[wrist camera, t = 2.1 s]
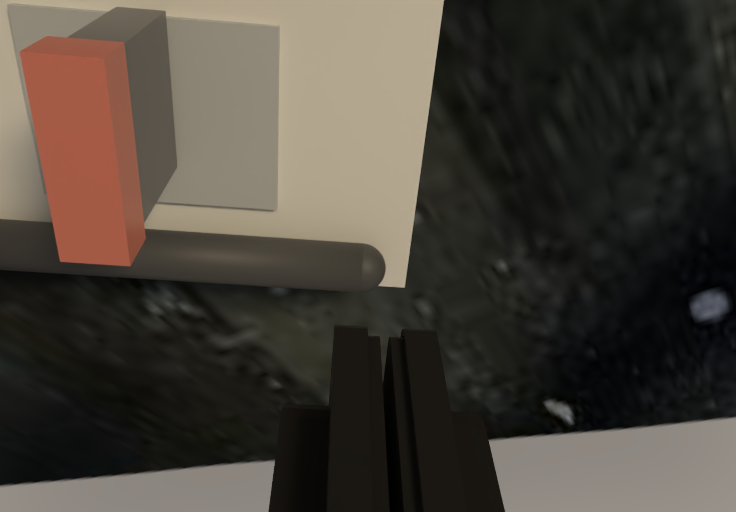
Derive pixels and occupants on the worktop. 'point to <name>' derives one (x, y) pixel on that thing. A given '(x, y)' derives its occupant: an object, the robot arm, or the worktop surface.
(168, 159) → the breaker handle
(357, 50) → the breaker box
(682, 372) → the worktop surface
